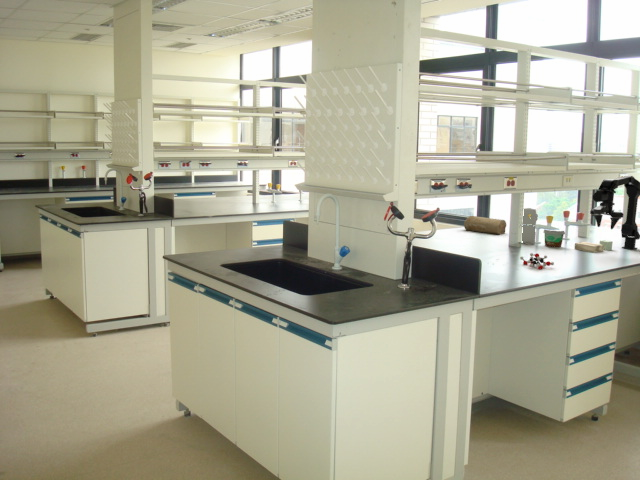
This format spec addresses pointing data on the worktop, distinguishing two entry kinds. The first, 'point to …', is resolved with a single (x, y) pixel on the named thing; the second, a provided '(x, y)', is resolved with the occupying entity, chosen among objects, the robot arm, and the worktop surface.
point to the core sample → (485, 225)
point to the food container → (553, 238)
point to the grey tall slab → (529, 231)
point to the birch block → (589, 247)
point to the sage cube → (606, 244)
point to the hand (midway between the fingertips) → (605, 228)
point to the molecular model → (537, 261)
